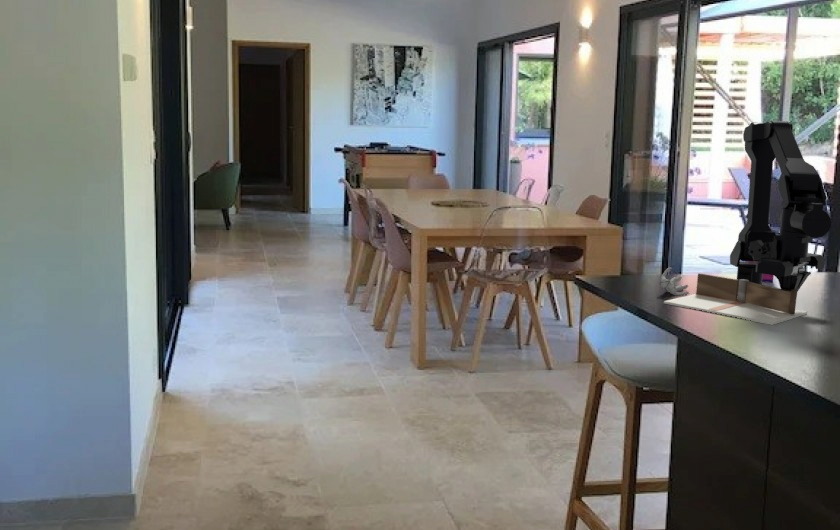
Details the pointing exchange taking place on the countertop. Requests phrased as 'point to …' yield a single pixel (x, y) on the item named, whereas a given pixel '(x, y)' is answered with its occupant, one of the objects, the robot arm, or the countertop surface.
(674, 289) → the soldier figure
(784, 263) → the robot arm
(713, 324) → the countertop surface
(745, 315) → the card
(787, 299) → the fence panel
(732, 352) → the countertop surface
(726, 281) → the fence base
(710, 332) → the countertop surface
